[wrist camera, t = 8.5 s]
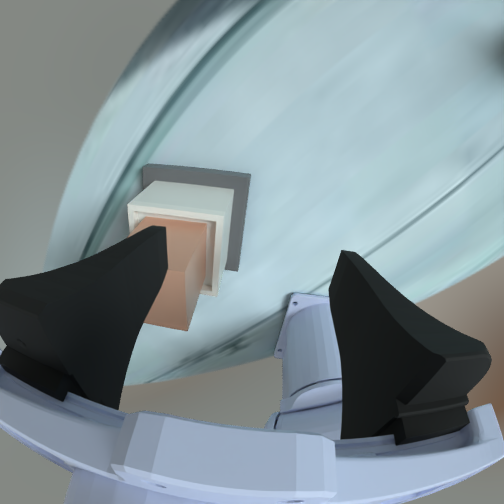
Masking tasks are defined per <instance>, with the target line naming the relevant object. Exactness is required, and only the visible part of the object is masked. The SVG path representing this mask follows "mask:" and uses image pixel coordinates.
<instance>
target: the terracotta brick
mask: <svg viewBox="0 0 504 504" xmlns="http://www.w3.org/2000/svg"><path fill="white" fill-rule="evenodd" d="M152 225H155V226H164V227H166V235H167V255H168V270H167V273H166V276H165V279H164V282H163V284H162V287H161V289H160V291H159V293H158V295H157V297H156V299H155V301H154V303H153V305H152V307H151V309H150V311H149V313H148V315H147V317H146V319H145V321H144V323H148V324H152V325H157V326H162V327H167V328H172V329H178V330H183V331H188V329H189V325H190V322H191V319H192V316H193V313H194V310H195V307H196V304H197V301H198V297H199V294H200V291H201V288H202V285H203V282H204V279H205V270H206V237H207V223H199V222H191V221H183V220H174V219H165V218H156V217H147V216H146V217H145V218H144V219H143V220H142V221H141V222H140V223H139V224H138V226H137V227H136V228H135V229H134V230H133V231H132V232H131V234H130V235H129V236H128V237H130V236H132V235H134V234H135V233H137V232H139V231H141V230H143V229H145V228H147V227H149V226H152ZM128 237H127V238H128Z"/></svg>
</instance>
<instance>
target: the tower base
mask: <svg viewBox="0 0 504 504" xmlns="http://www.w3.org/2000/svg"><path fill="white" fill-rule="evenodd" d="M250 178H251V174H246V173H239V172H231V171H223V170H214V169H205V168H195V167H185V166H174V165H161V164H147V165H145V166H144V167H143V191H142V192H141V193H140V194H139V195H137V196H136V197H135V198H134V199H133V200H132V201H131V202H129V203H128V204H127V205H128V219H129V230H130V234H131V232H132V231H133V230H134V229H135V228H136V227H137V226H138V224H139V223H140V222H141V221H142V220H143V219H144V218H145V217H146V216H147V217H156V218H165V219H174V220H183V221H191V222H199V223H207V237H206V270H205V279H204V282H203V285H202V288H201V291H200V294H203V295H209V296H215V297H217V296H218V292H219V288H220V284H221V281H222V277H223V273H224V270H231V271H238V268H239V262H240V254H241V246H242V238H243V231H244V223H245V215H246V208H247V200H248V193H249V185H250Z"/></svg>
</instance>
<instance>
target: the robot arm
mask: <svg viewBox="0 0 504 504" xmlns="http://www.w3.org/2000/svg"><path fill="white" fill-rule="evenodd" d="M167 270H168V255H167V235H166V227H164V226H155V225H152V226H149V227H147V228H145V229H143V230H141V231H139V232H137V233H135V234H134V235H132V236H130V237H128V238H126V239H124V240H123V241H121V242H119V243H117V244H115V245H113V246H111V247H109V248H107V249H105V250H103V251H101V252H99V253H97V254H95V255H93V256H91V257H88V258H86V259H84V260H81V261H79V262H76V263H73V264H70V265H67V266H64V267H61V268H58V269H55V270H52V271H48V272H44V273H40V274H36V275H31V276H26V277H19V278H12V279H5V280H4V281H3V282H2V283H1V284H0V336H1V337H2V339H3V341H4V342H5V344H6V345H7V346H6V348H5V349H4V351H2V350H1V349H0V428H1V429H3V430H4V431H6V432H7V433H8V434H10V435H11V436H12V437H14V438H15V439H17V440H18V441H20V442H21V443H22V444H24V445H25V446H27V447H28V448H30V449H32V450H33V451H35V452H36V453H38V454H40V455H41V456H43V457H45V458H46V459H48V460H50V461H52V462H53V463H55V464H57V465H58V466H60V467H62V468H64V469H66V470H68V471H70V472H72V473H73V474H72V477H71V480H70V483H69V487H68V490H67V493H66V497H65V500H64V504H401V503H404V502H408V501H411V500H414V499H417V498H420V497H423V496H426V495H428V494H431V493H434V492H437V491H439V490H442V489H445V488H447V487H450V486H452V485H454V484H457V483H459V482H461V481H463V480H465V479H467V478H469V477H471V476H473V475H475V474H477V473H478V472H480V471H482V470H484V469H486V468H487V467H489V466H491V465H492V464H494V463H496V462H497V461H499V460H500V459H502V458H503V457H504V441H503V437H502V434H501V431H500V428H499V424H498V422H497V418H496V416H495V413H494V410H493V407H492V405H491V404H486V405H483V406H480V407H476V408H474V409H471V410H470V411H468V412H466V409H465V405H467V404H468V402H469V400H468V397H467V393H468V392H469V391H470V390H471V389H472V388H473V387H474V386H475V385H476V384H477V383H478V382H479V381H480V380H481V379H482V378H483V377H484V375H485V374H486V373H487V371H488V370H489V368H490V365H491V361H492V359H491V356H490V354H489V352H488V350H487V348H486V346H485V345H484V343H483V342H481V341H479V340H477V339H474V338H472V337H470V336H467V335H465V334H463V333H461V332H459V331H457V330H455V329H453V328H451V327H449V326H447V325H445V324H444V323H442V322H440V321H438V320H437V319H435V318H434V317H432V316H430V315H429V314H427V313H426V312H425V311H423V310H422V309H420V308H419V307H417V306H416V305H415V304H414V303H412V302H411V301H410V300H408V299H407V298H406V297H405V296H403V295H402V294H401V293H400V292H399V291H398V290H396V289H395V288H394V287H393V286H392V285H391V284H390V283H389V282H387V281H386V280H385V279H384V278H383V277H382V276H381V275H380V274H379V273H378V272H377V271H376V270H375V269H374V268H373V267H372V266H371V265H370V264H368V263H367V262H366V261H365V260H364V259H363V258H362V257H361V256H360V255H358V254H357V253H356V252H351V251H345V250H341V253H340V256H339V259H338V262H337V266H336V269H335V272H334V275H333V278H332V281H331V284H330V286H329V297H325V296H317V295H309V294H301V293H294V294H292V295H291V297H290V301H289V304H288V308H287V311H286V315H285V318H284V322H283V325H282V328H281V332H280V335H279V338H278V341H277V345H276V348H275V351H274V357H275V358H279V359H283V395H282V396H283V397H282V398H283V399H282V400H281V402H280V412H275V413H273V414H272V415H271V416H270V418H269V419H268V421H267V423H266V424H265V427H264V429H262V428H251V427H242V426H232V425H226V424H218V423H212V422H206V421H200V420H195V419H189V418H184V417H179V416H174V415H170V414H165V413H157V412H150V411H140V412H135V413H131V414H128V413H125V412H122V411H118V409H119V404H120V398H121V393H122V388H123V384H124V380H125V376H126V372H127V368H128V365H129V361H130V358H131V354H132V351H133V348H134V345H135V342H136V339H137V336H138V334H139V331H140V329H141V327H142V325H143V323H144V321H145V319H146V317H147V315H148V313H149V311H150V309H151V307H152V305H153V303H154V301H155V299H156V297H157V295H158V293H159V291H160V289H161V287H162V284H163V282H164V279H165V276H166V273H167ZM293 302H297V303H293Z"/></svg>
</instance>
